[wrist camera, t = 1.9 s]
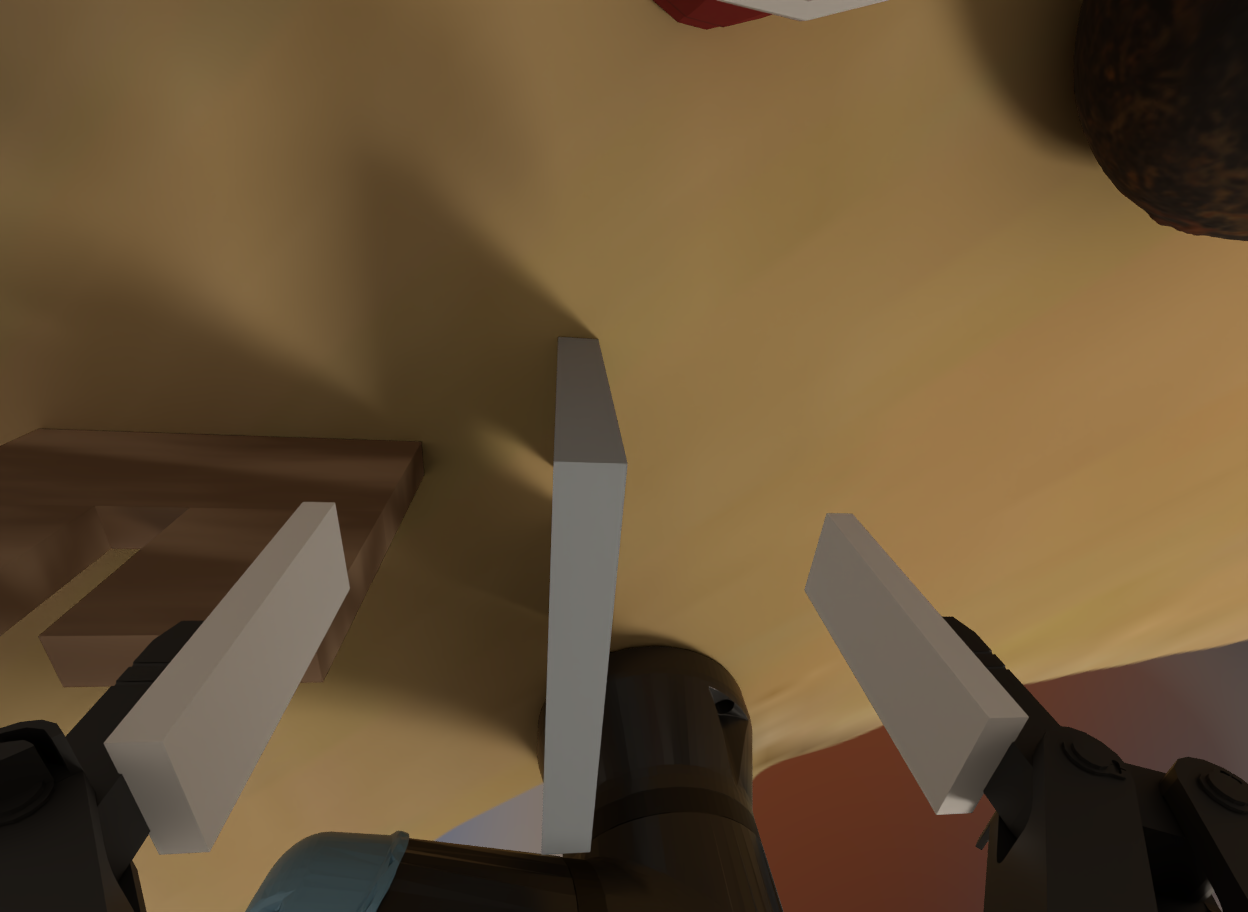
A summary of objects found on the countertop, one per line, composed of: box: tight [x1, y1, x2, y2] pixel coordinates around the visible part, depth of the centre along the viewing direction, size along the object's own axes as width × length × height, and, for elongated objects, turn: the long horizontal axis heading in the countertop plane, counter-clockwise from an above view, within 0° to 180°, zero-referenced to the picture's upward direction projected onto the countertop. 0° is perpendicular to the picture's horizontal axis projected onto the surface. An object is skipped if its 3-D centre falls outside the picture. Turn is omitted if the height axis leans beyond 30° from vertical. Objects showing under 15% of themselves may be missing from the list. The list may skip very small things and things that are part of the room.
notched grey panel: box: [541, 337, 627, 855], centre depth 25 cm, size 18×2×14 cm, turn 175°
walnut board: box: [0, 429, 424, 687], centre depth 22 cm, size 2×18×14 cm, turn 85°
